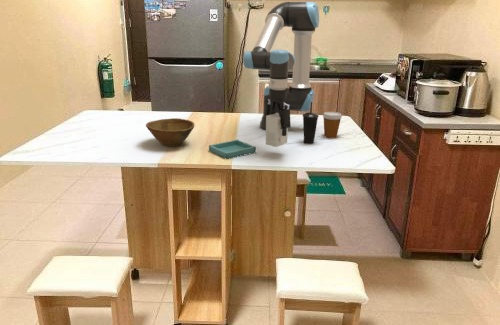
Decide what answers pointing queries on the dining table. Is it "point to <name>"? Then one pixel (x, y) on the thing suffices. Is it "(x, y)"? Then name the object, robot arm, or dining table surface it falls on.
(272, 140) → the small box
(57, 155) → the dining table surface
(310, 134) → the drinking cup
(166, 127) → the bowl
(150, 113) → the dining table surface
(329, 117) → the disposable coffee cup
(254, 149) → the tray
